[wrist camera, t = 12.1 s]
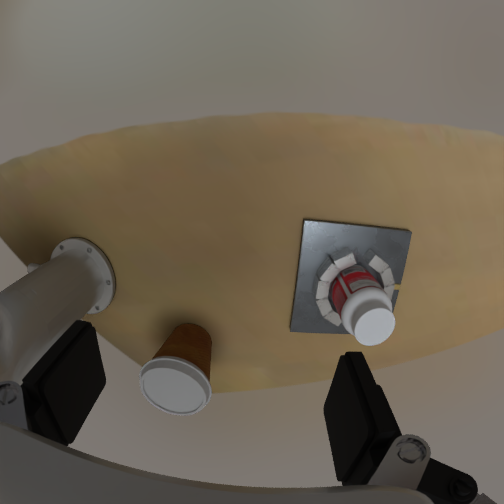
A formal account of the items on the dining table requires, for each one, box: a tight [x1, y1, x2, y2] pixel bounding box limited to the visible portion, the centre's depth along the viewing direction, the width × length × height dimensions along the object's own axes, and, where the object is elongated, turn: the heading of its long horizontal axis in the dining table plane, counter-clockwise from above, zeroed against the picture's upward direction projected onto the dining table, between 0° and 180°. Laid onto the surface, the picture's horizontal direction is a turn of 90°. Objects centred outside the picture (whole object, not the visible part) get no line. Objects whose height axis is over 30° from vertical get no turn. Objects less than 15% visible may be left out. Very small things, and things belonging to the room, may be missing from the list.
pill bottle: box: [329, 265, 395, 346], centre depth 34 cm, size 6×6×11 cm
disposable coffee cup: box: [139, 324, 212, 416], centre depth 39 cm, size 10×10×12 cm
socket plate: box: [290, 219, 412, 334], centre depth 39 cm, size 15×16×4 cm
